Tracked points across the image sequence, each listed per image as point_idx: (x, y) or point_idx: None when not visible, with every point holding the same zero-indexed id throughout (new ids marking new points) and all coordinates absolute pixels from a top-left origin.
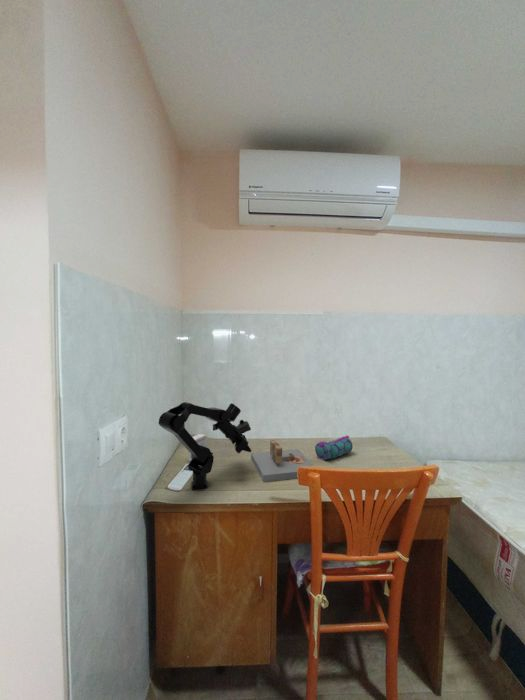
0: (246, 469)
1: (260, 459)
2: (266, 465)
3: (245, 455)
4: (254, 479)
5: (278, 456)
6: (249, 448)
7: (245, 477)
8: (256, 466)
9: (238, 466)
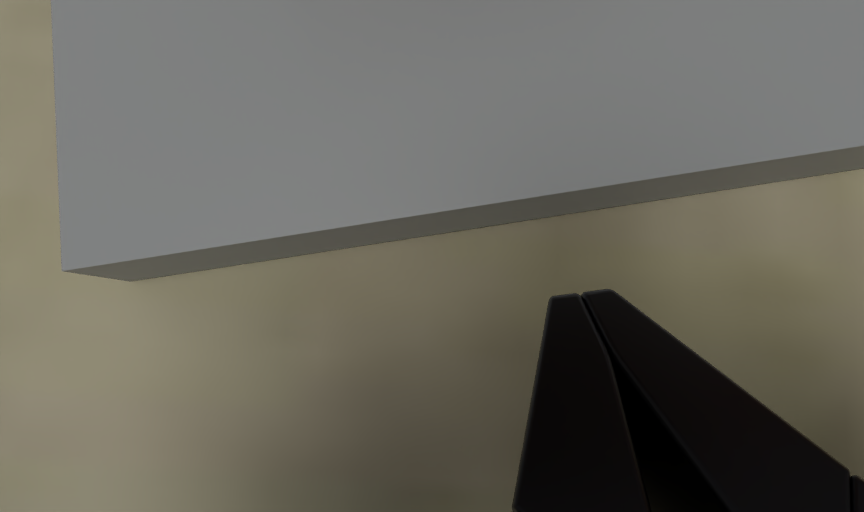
0: (492, 382)
1: (357, 124)
2: (604, 42)
3: (2, 364)
4: (816, 283)
5: None
6: (704, 378)
7: None
8: (484, 219)
9: (380, 508)
